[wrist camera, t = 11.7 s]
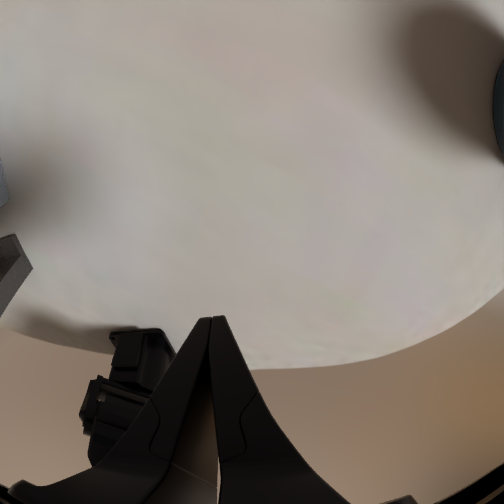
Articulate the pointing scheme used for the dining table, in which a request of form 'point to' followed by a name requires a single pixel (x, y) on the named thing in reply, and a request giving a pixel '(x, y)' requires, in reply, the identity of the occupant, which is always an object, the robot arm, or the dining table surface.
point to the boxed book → (3, 188)
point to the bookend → (11, 269)
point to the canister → (499, 108)
